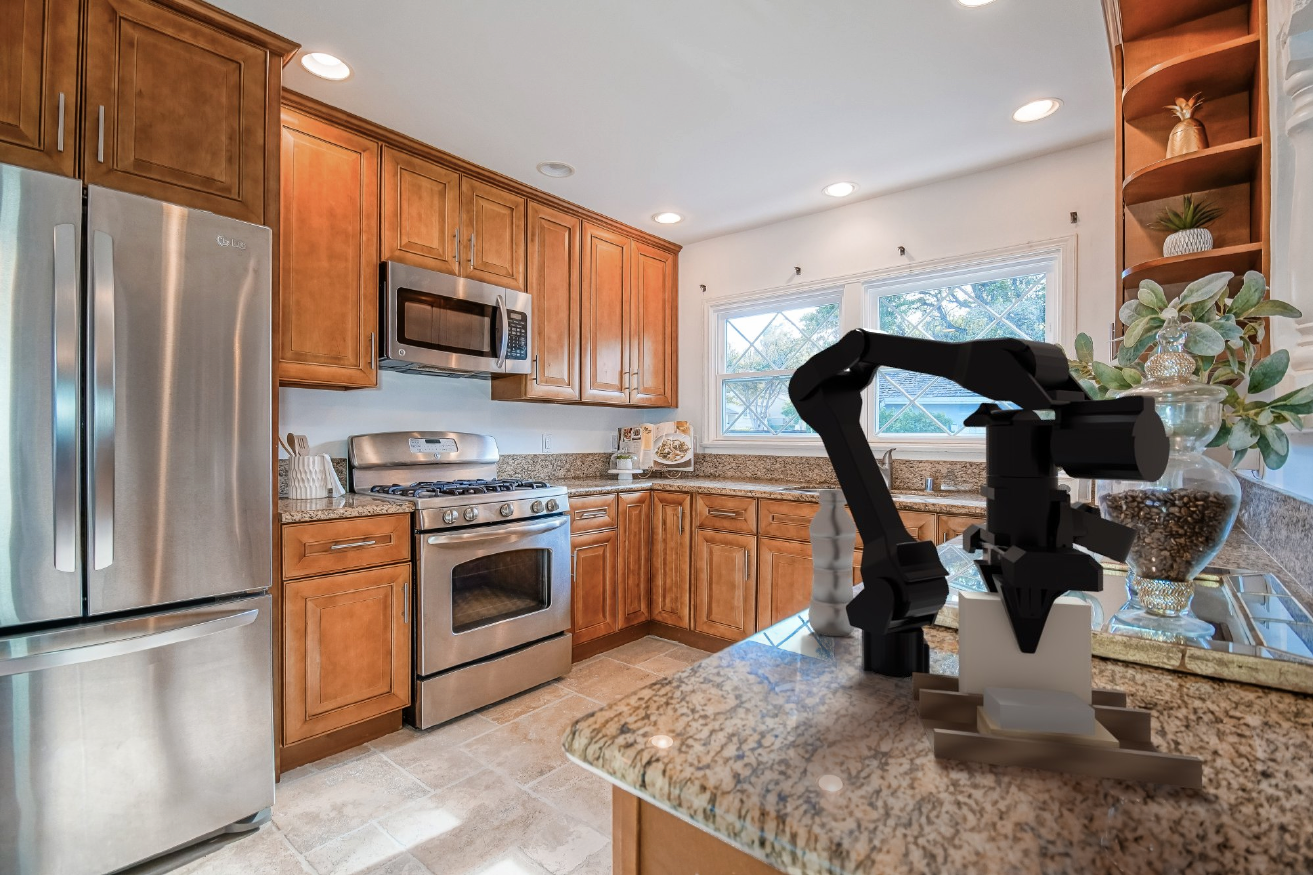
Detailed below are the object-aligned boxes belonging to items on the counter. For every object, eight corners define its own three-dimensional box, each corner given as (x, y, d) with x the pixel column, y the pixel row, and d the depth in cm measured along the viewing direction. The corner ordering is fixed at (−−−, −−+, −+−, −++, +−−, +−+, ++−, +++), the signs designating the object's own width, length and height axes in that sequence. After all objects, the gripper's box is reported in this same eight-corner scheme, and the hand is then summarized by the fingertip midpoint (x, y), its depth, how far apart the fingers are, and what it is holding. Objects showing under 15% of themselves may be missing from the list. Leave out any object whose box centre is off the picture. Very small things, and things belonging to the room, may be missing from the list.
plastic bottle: (799, 634, 86) (799, 490, 86) (822, 624, 91) (822, 488, 91) (843, 645, 81) (842, 493, 82) (865, 633, 86) (865, 490, 86)
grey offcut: (1000, 728, 50) (1000, 704, 50) (983, 709, 54) (983, 686, 54) (1094, 735, 49) (1094, 709, 49) (1071, 715, 52) (1071, 691, 52)
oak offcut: (991, 753, 50) (991, 728, 50) (977, 728, 54) (976, 705, 54) (1119, 768, 48) (1119, 742, 48) (1093, 740, 52) (1093, 717, 52)
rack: (935, 775, 49) (935, 725, 49) (910, 706, 62) (910, 666, 63) (1202, 809, 45) (1202, 754, 45) (1115, 726, 58) (1114, 684, 58)
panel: (966, 719, 56) (965, 598, 56) (958, 705, 59) (958, 590, 59) (1091, 732, 54) (1091, 605, 54) (1077, 717, 57) (1076, 597, 57)
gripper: (1183, 484, 46) (1184, 696, 45) (1079, 472, 64) (1079, 624, 63) (1015, 482, 48) (1016, 681, 48) (961, 471, 66) (961, 616, 66)
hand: (1021, 646), depth 56 cm, fingers closed on panel, 3 cm apart
